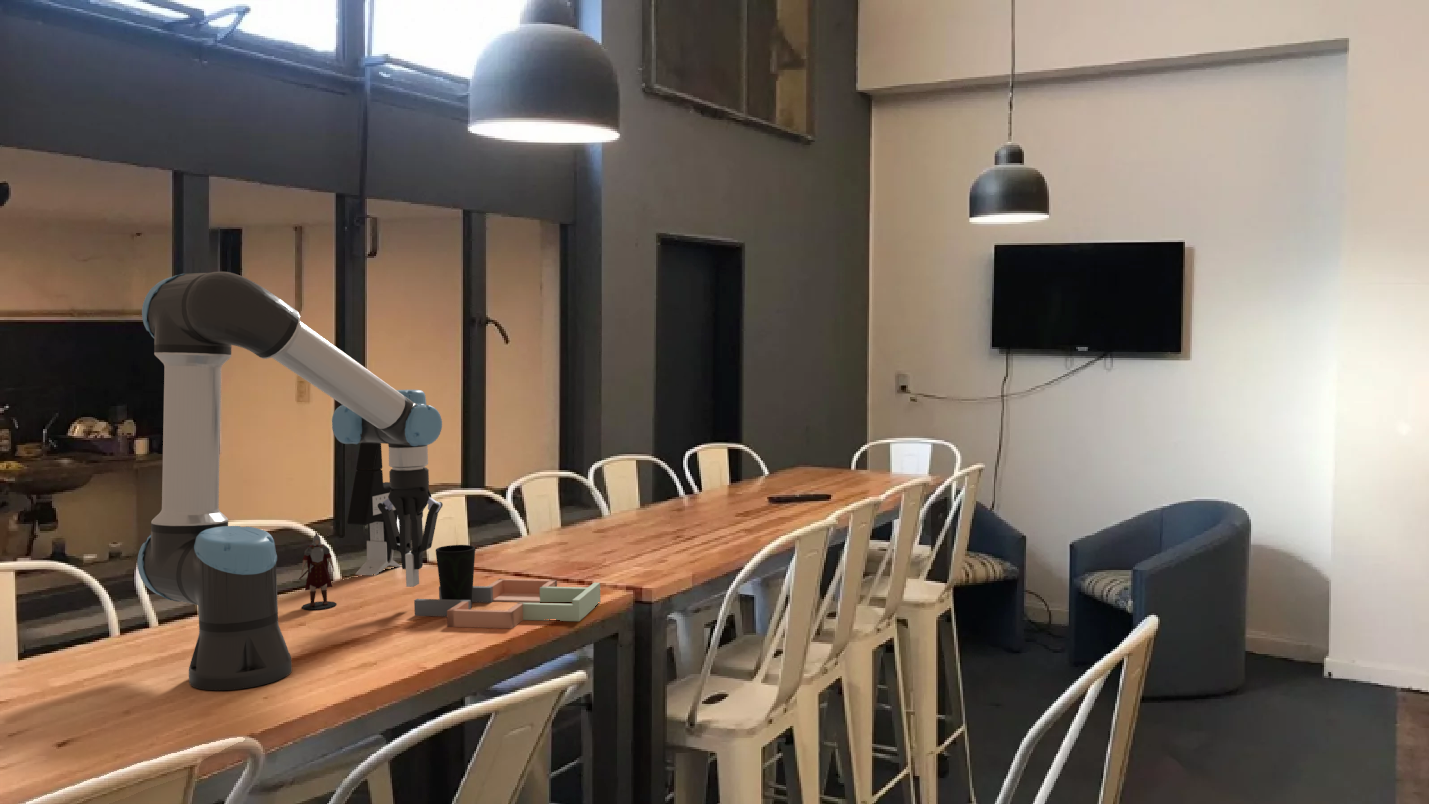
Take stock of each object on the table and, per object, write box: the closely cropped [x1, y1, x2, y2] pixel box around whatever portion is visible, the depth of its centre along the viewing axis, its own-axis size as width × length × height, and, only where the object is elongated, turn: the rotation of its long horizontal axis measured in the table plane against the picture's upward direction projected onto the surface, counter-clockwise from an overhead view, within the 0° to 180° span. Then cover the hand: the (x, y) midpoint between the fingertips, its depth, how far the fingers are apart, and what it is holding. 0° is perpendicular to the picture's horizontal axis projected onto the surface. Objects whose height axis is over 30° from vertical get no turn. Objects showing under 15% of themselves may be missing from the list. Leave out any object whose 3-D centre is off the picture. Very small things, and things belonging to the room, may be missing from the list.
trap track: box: [413, 578, 601, 629], centre depth 221 cm, size 33×28×4 cm
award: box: [346, 443, 402, 577], centre depth 260 cm, size 15×5×30 cm, turn 161°
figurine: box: [298, 532, 337, 611], centre depth 227 cm, size 7×7×15 cm
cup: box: [435, 544, 476, 609], centre depth 223 cm, size 8×8×12 cm
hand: (412, 585), depth 225 cm, fingers closed
